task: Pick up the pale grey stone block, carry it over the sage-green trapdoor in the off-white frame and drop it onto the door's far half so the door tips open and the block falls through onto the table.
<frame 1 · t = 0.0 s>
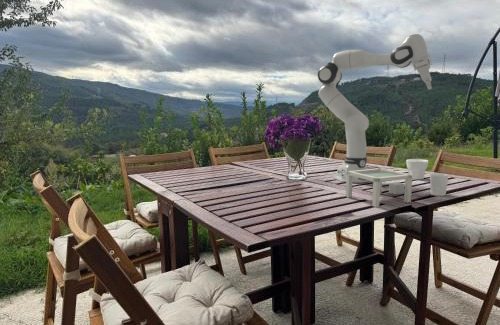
hand: (430, 89, 198), 52 cm above the table, tool tilted 20°, fingers open, 8 cm apart
trapdoor: (378, 177, 175), point 11 cm above the table, hinge at 0.0°
trapdoor frame: (380, 200, 174), on the table
white cup: (437, 194, 185), on the table
cup: (416, 178, 228), on the table
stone: (396, 193, 189), on the table
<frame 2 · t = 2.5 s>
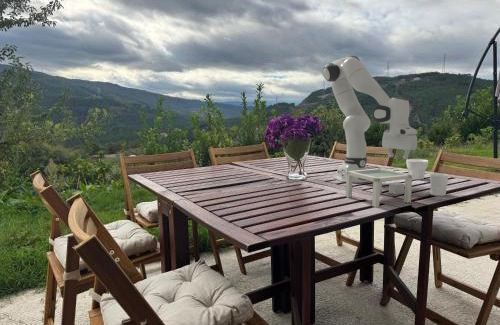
hand: (398, 158, 187), 18 cm above the table, tool pointing down, fingers open, 8 cm apart
nothing on the table moved.
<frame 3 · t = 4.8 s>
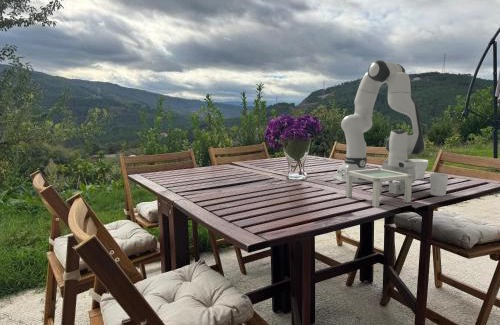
hand: (396, 189, 189), 2 cm above the table, tool pointing down, fingers closed on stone, 5 cm apart
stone: (396, 193, 189), on the table, touching gripper
everything else where it was.
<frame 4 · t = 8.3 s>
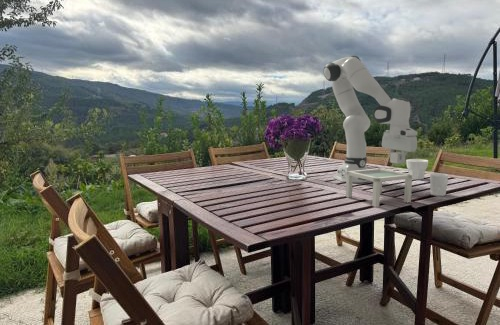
hand: (397, 158, 187), 17 cm above the table, tool pointing down, fingers closed on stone, 5 cm apart
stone: (397, 162, 187), point 15 cm above the table, touching gripper
everything else where it was.
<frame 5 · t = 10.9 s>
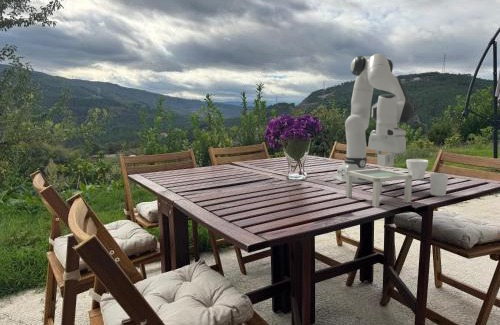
hand: (385, 161, 170), 19 cm above the table, tool pointing down, fingers closed on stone, 5 cm apart
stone: (385, 165, 170), point 17 cm above the table, touching gripper
everything else where it was.
when the fingers open (17 cm above the table, at t = 12.0 s): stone drops 5 cm, resting on trapdoor.
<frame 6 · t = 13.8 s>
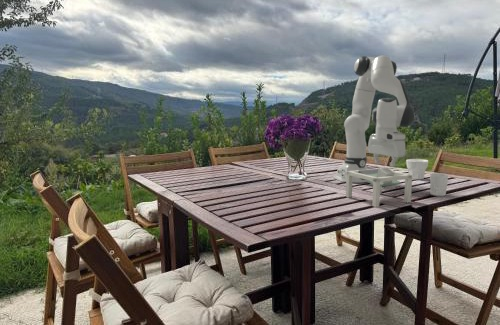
hand: (384, 165, 170), 17 cm above the table, tool pointing down, fingers open, 8 cm apart
trapdoor: (377, 179, 175), point 10 cm above the table, hinge at -18.9°, touching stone
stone: (383, 180, 172), point 10 cm above the table, tilted 19°, touching trapdoor
everything else where it was.
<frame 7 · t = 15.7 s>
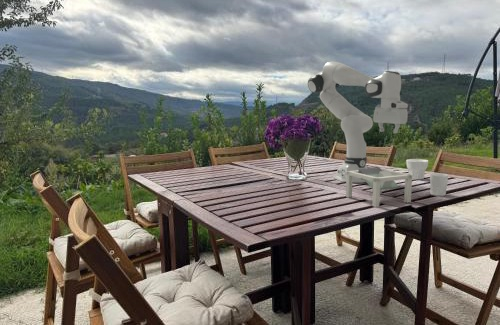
hand: (388, 132, 188), 30 cm above the table, tool pointing down, fingers open, 8 cm apart
trapdoor: (376, 180, 176), point 9 cm above the table, hinge at -30.1°, touching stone
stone: (382, 183, 172), point 8 cm above the table, tilted 30°, touching trapdoor
everything else where it was.
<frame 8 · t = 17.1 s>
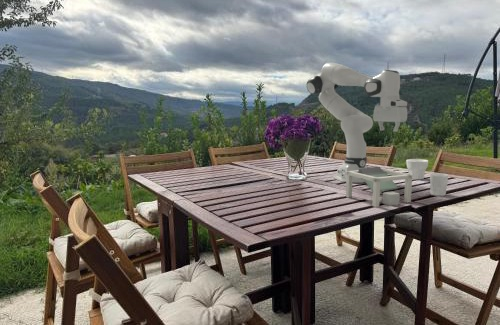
hand: (388, 130, 189), 31 cm above the table, tool pointing down, fingers open, 8 cm apart
trapdoor: (376, 180, 176), point 9 cm above the table, hinge at -35.4°
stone: (387, 197, 170), point 2 cm above the table, tilted 90°
everything else where it was.
at the end: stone point 2.4 cm above the table; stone inside the target area on the trapdoor frame (1.3 cm from its centre), point 2.4 cm above the trapdoor frame's base; the gripper is holding nothing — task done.
